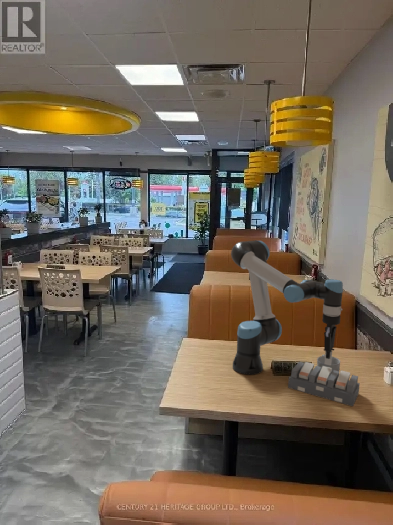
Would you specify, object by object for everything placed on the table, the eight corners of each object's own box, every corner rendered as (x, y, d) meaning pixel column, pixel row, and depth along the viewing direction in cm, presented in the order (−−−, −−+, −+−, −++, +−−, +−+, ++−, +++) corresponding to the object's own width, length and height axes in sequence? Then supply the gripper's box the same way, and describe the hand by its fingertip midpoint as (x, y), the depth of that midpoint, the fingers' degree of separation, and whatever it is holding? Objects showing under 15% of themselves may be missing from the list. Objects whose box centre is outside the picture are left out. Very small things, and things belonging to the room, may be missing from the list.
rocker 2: (316, 382, 169) (316, 379, 168) (322, 368, 176) (322, 365, 176) (325, 384, 167) (325, 381, 166) (331, 370, 174) (331, 367, 174)
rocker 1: (298, 377, 173) (298, 374, 172) (305, 364, 181) (305, 361, 180) (307, 379, 171) (307, 376, 170) (314, 366, 178) (314, 363, 178)
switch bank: (287, 387, 174) (289, 370, 173) (297, 377, 185) (298, 360, 184) (352, 406, 159) (354, 387, 158) (358, 393, 170) (360, 375, 169)
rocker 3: (335, 387, 165) (335, 384, 164) (340, 373, 172) (340, 370, 171) (345, 390, 162) (345, 386, 162) (350, 375, 170) (350, 372, 169)
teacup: (340, 381, 182) (342, 365, 181) (317, 378, 185) (318, 362, 183) (336, 368, 196) (337, 354, 195) (314, 366, 198) (315, 351, 197)
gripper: (337, 319, 163) (332, 371, 167) (343, 312, 174) (339, 361, 177) (319, 316, 167) (315, 367, 171) (326, 309, 178) (323, 357, 181)
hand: (327, 364), depth 174 cm, fingers closed
